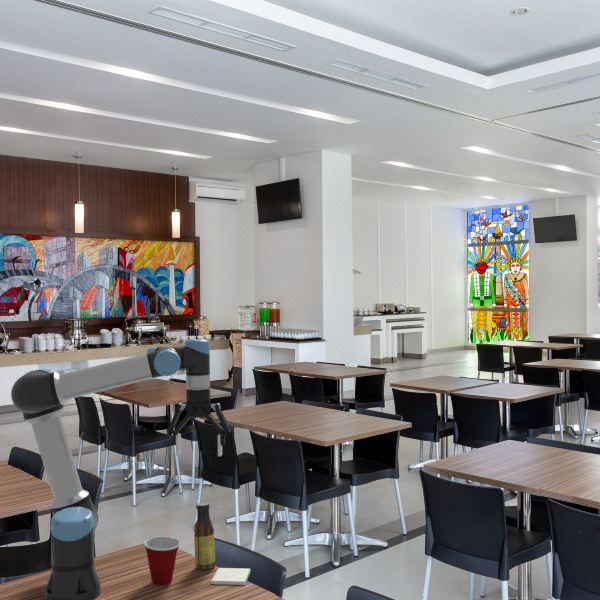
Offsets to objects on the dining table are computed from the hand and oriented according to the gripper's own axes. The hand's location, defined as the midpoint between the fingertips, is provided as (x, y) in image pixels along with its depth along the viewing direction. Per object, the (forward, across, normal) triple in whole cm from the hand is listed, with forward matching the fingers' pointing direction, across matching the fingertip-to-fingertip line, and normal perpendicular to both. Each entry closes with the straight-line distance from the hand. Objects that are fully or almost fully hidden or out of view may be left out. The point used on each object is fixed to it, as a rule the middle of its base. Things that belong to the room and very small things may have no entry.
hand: (199, 455), depth 220 cm
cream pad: (+35, -12, +9) cm, 38 cm away
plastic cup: (+35, +8, +14) cm, 38 cm away
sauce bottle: (+35, -2, +1) cm, 35 cm away
